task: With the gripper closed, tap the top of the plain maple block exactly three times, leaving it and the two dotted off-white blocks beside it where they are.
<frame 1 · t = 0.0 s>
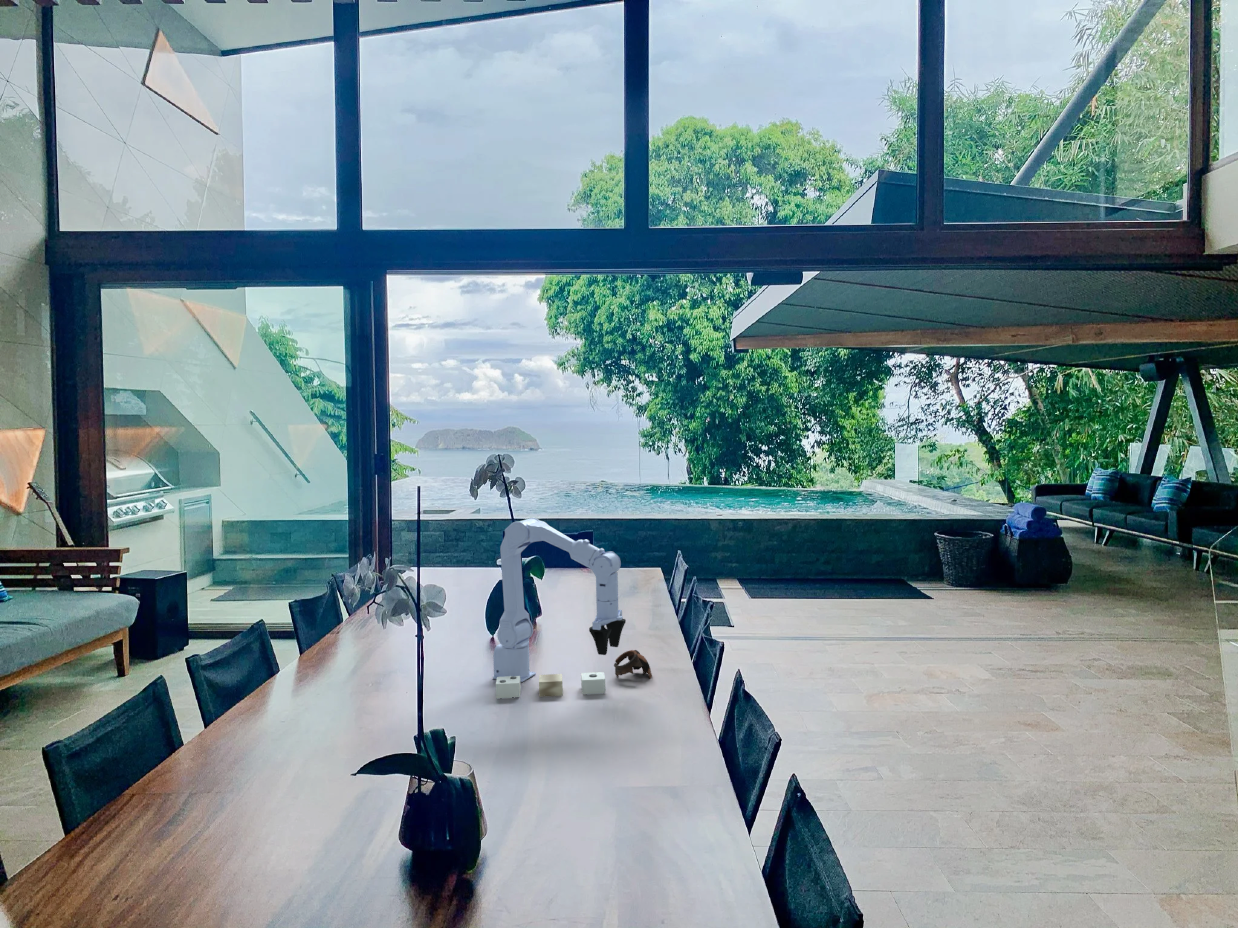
hand: (608, 650, 223), 10 cm above the table, tool pointing down, fingers open, 7 cm apart
rusty brown arched frame: (634, 676, 234), on the table
two-dot block: (508, 694, 221), on the table
one-dot block: (593, 690, 223), on the table
maple block: (551, 692, 222), on the table
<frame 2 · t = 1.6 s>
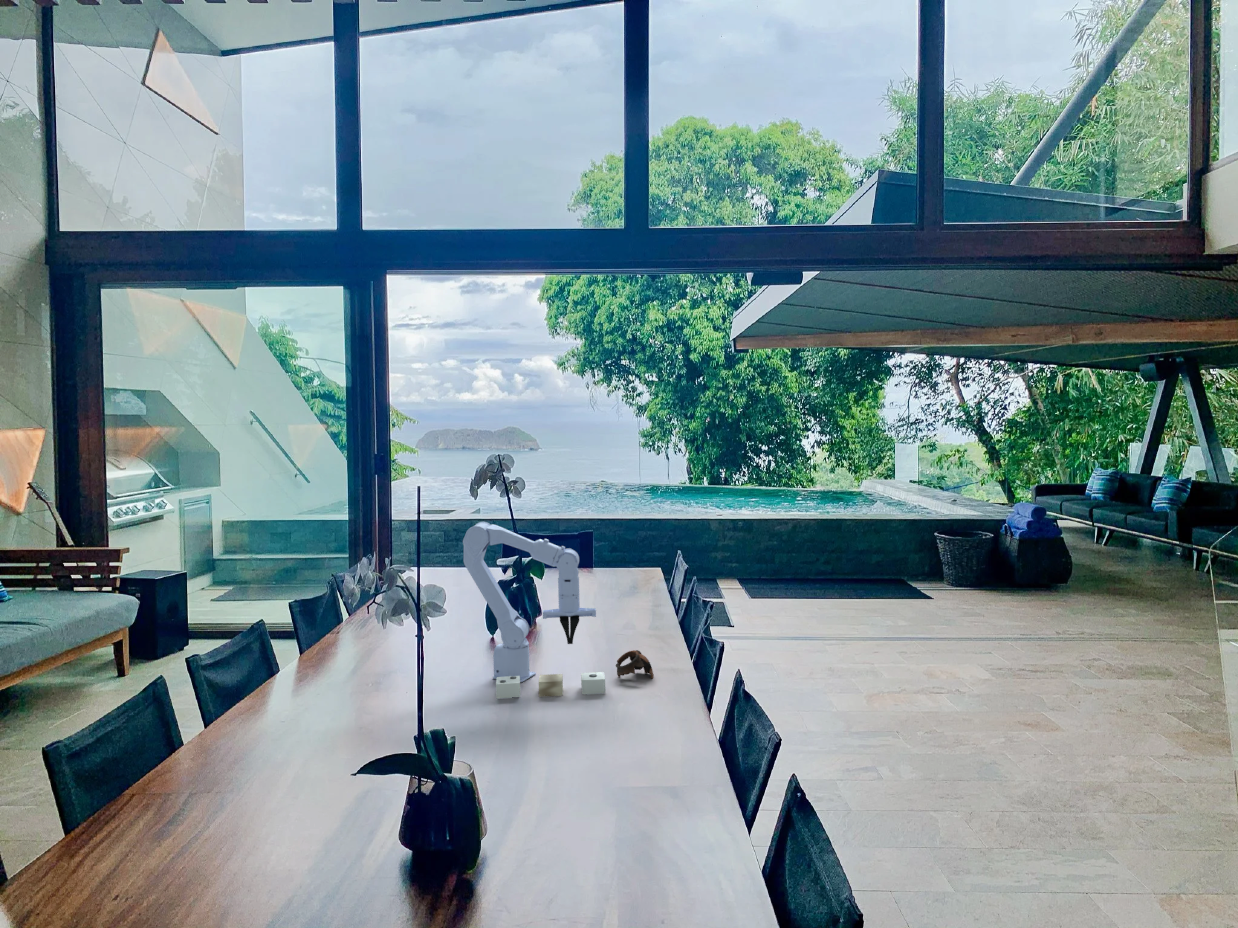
hand: (570, 643, 234), 9 cm above the table, tool pointing down, fingers closed
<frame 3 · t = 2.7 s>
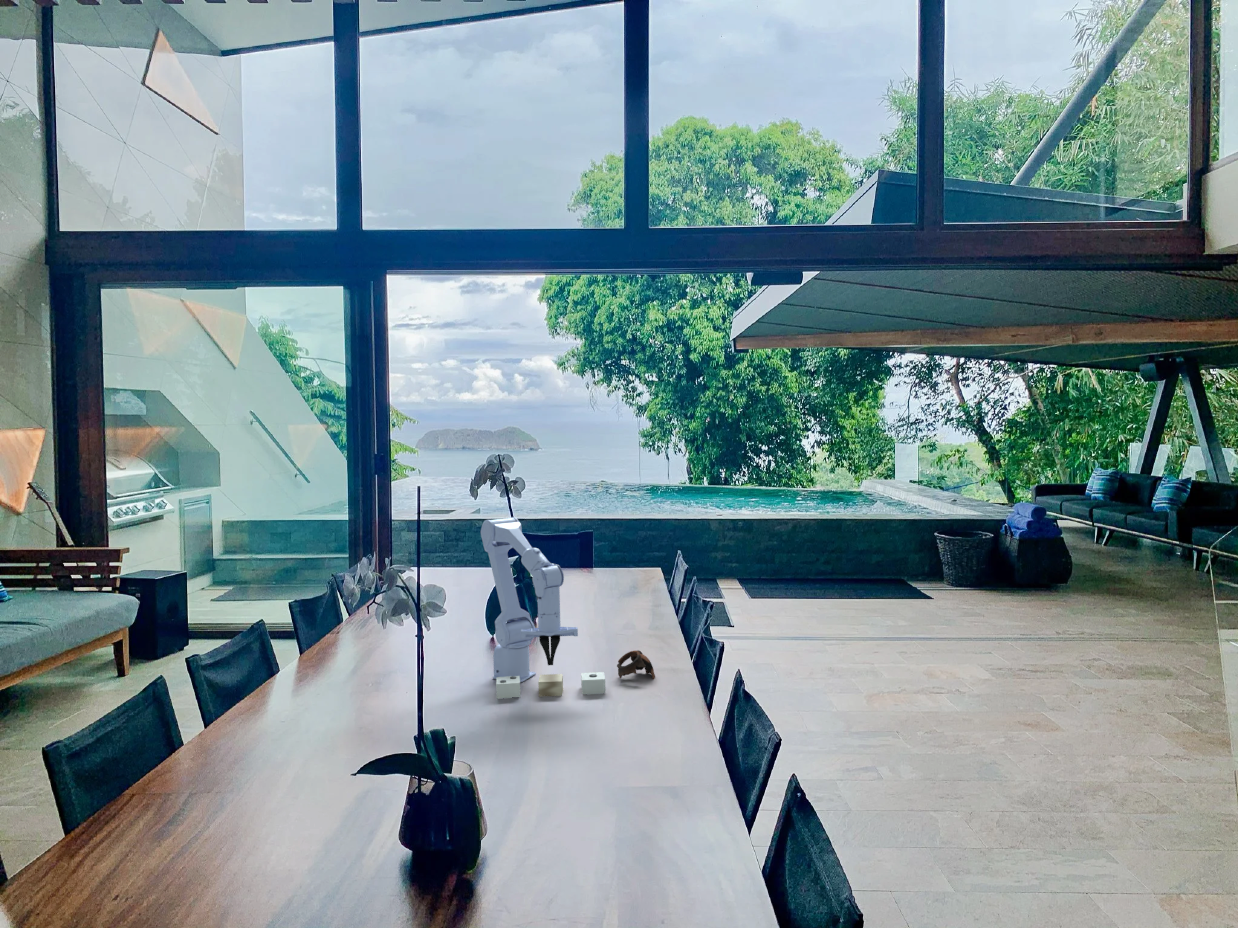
hand: (550, 664, 221), 7 cm above the table, tool pointing down, fingers closed
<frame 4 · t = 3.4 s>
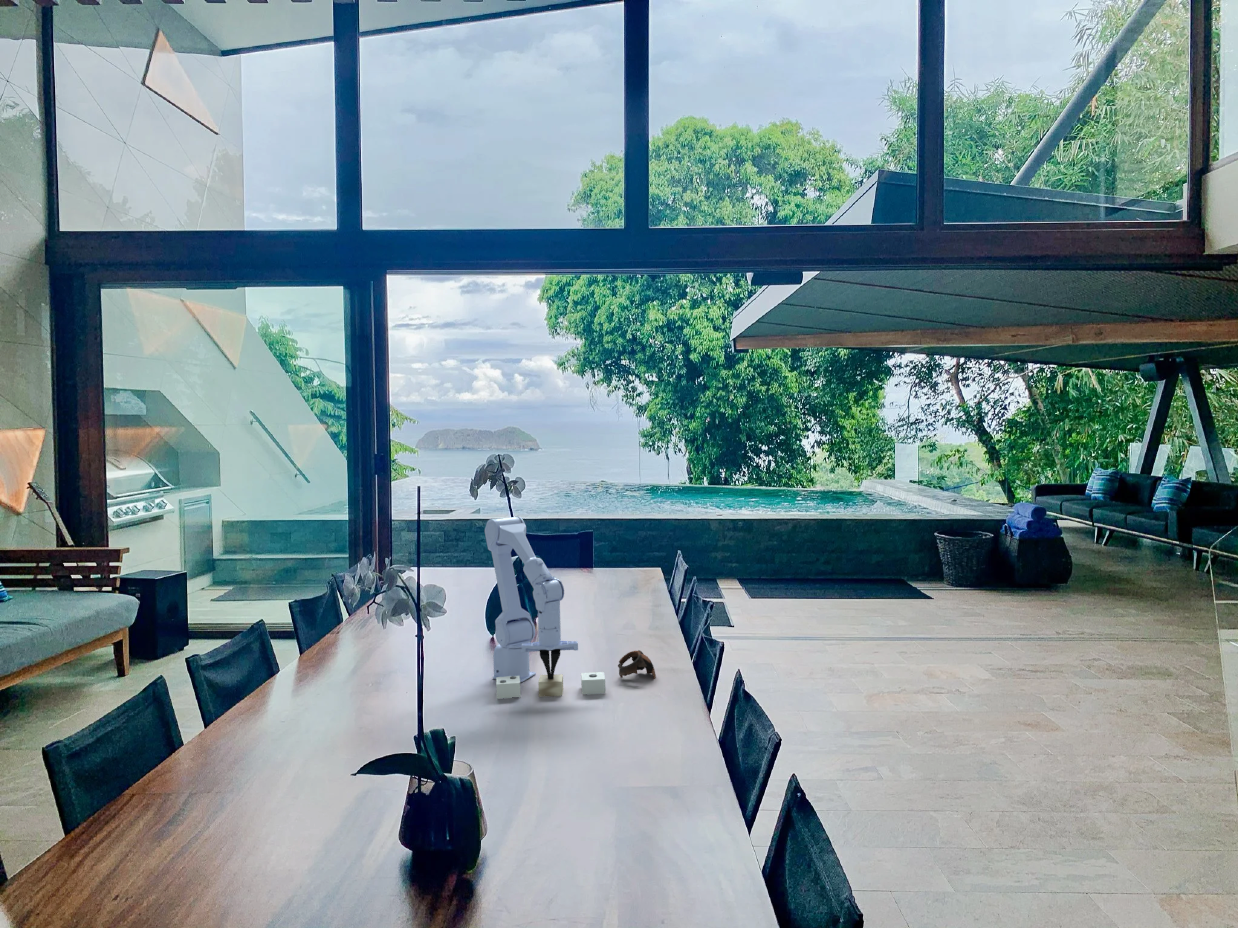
hand: (550, 678, 221), 4 cm above the table, tool pointing down, fingers closed
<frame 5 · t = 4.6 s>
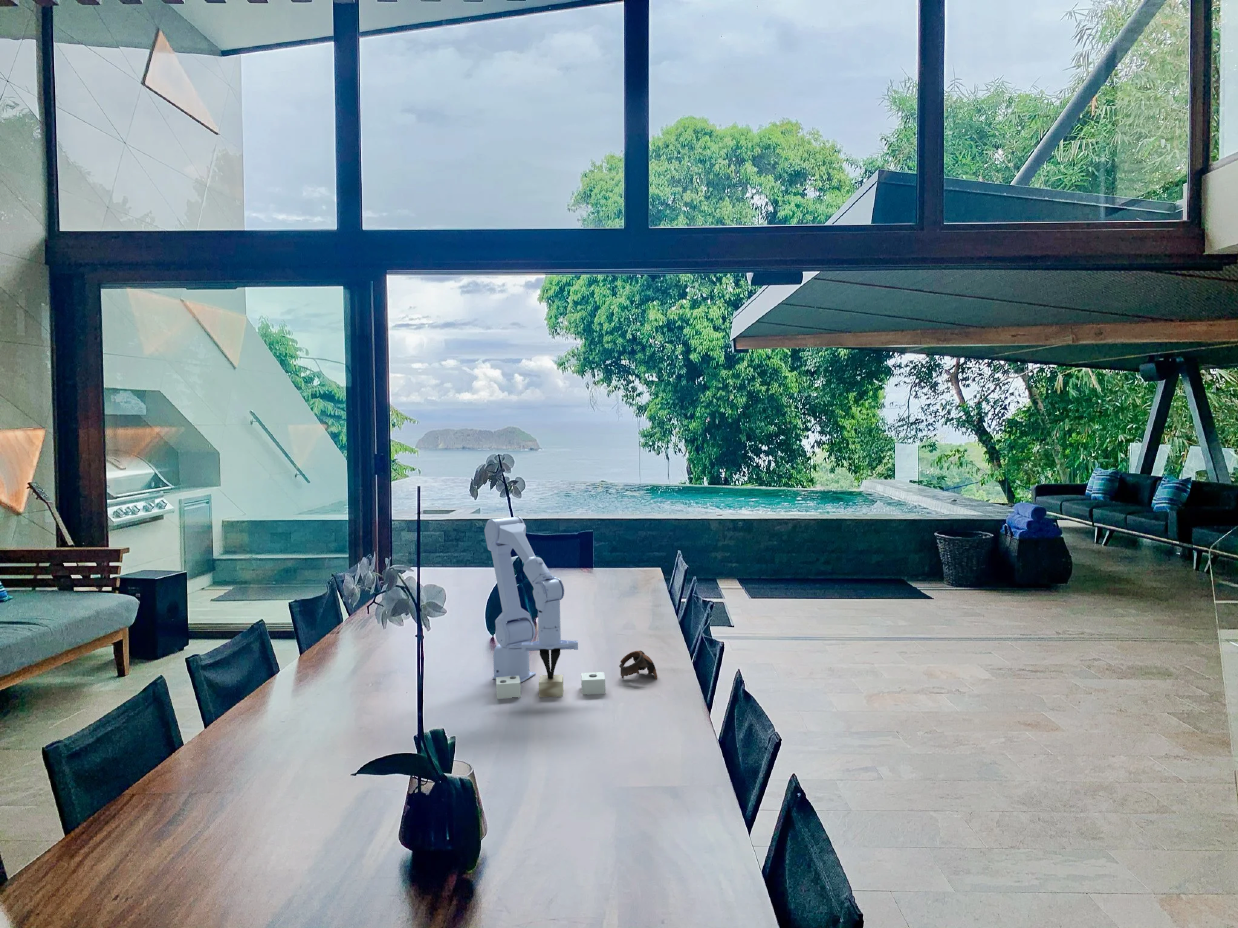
hand: (550, 677, 221), 4 cm above the table, tool pointing down, fingers closed
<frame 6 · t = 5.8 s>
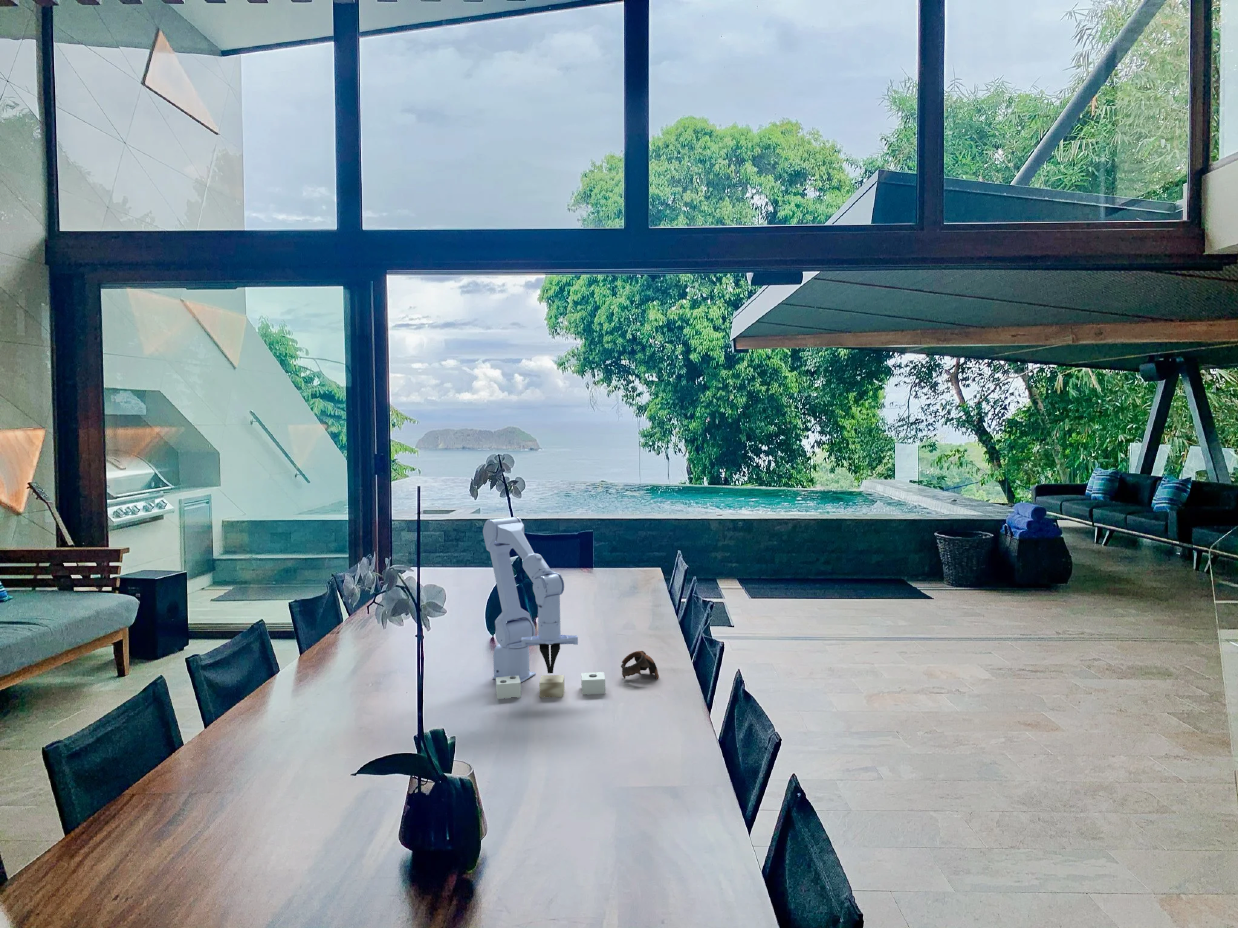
hand: (550, 672, 221), 5 cm above the table, tool pointing down, fingers closed
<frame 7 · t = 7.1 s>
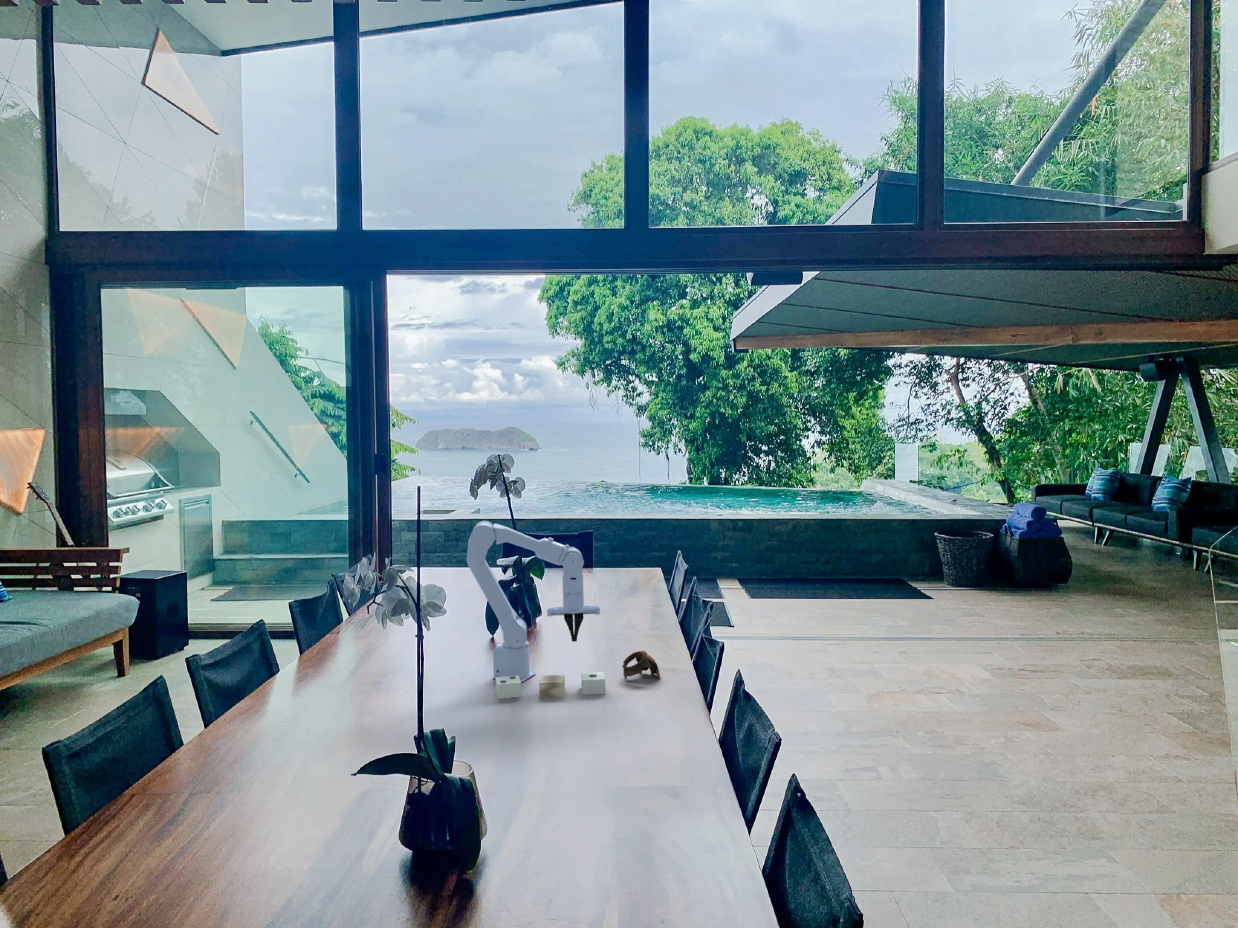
hand: (574, 640, 236), 9 cm above the table, tool pointing down, fingers closed
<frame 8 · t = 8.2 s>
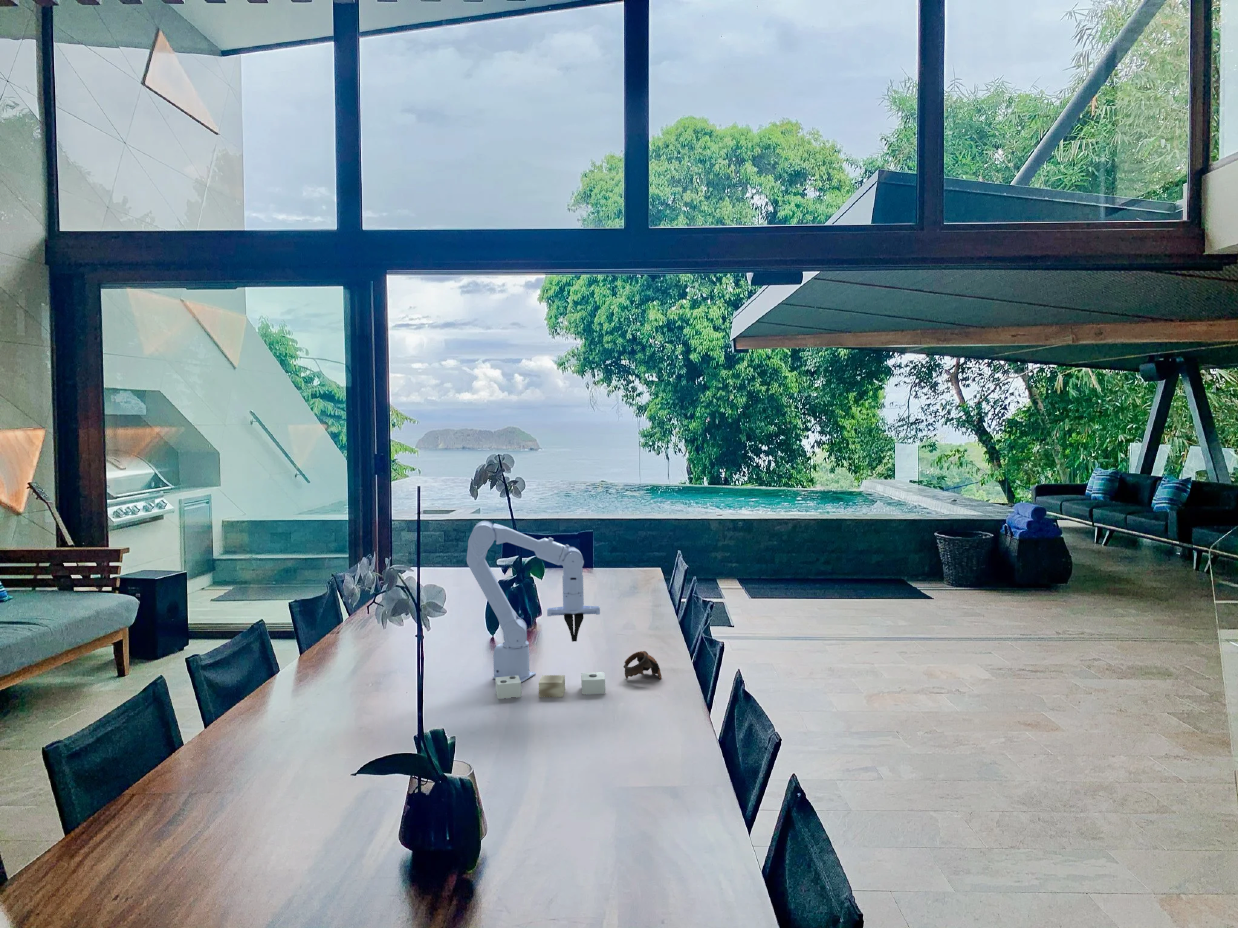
hand: (574, 640, 236), 9 cm above the table, tool pointing down, fingers closed
at the end: maple block moved 0.9 cm from its start; maple block tilted 0°; one-dot block moved 0.2 cm from its start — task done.
